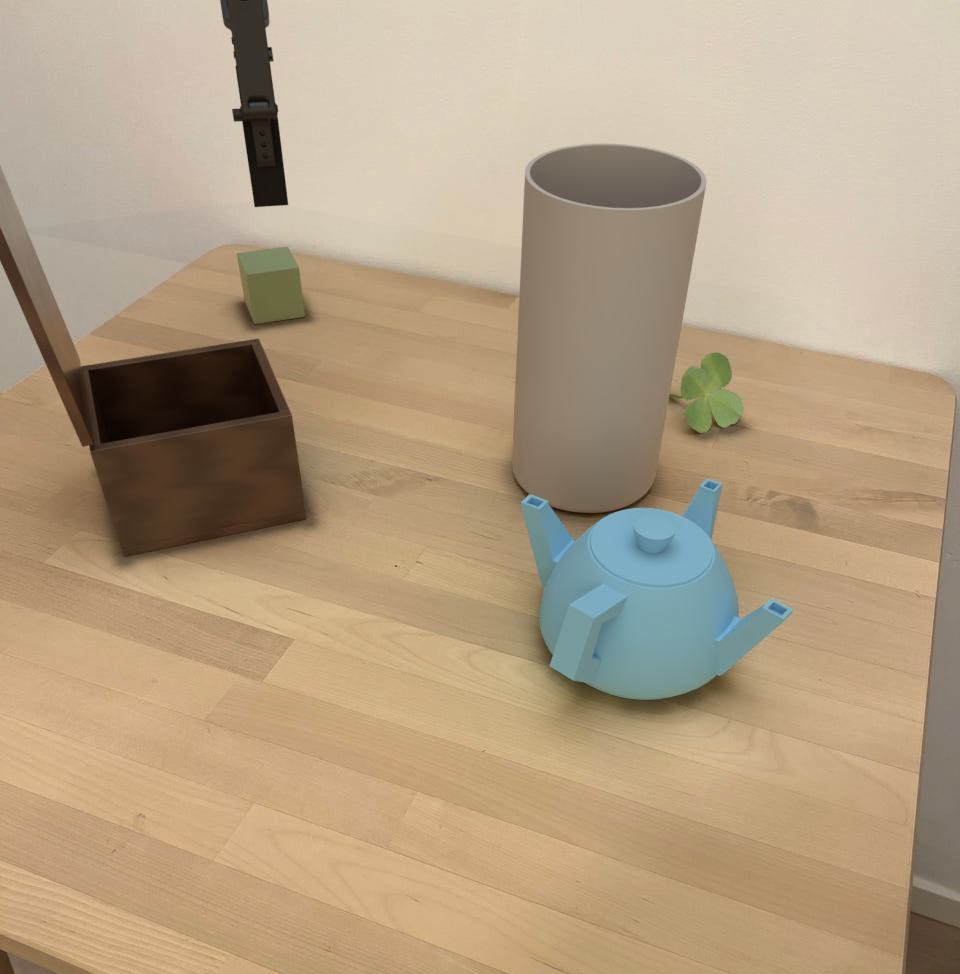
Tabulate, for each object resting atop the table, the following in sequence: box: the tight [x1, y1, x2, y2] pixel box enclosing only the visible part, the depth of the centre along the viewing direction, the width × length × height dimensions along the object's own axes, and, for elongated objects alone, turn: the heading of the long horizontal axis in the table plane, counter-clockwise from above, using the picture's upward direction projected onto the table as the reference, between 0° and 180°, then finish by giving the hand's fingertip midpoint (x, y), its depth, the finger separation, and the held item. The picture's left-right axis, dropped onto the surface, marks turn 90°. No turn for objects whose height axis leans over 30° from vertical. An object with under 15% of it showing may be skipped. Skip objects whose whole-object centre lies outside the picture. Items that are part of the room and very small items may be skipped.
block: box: [236, 246, 306, 325], centre depth 103 cm, size 6×6×6 cm
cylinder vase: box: [511, 143, 708, 514], centre depth 76 cm, size 12×12×25 cm
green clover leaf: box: [669, 352, 745, 434], centre depth 91 cm, size 7×8×7 cm
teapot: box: [520, 477, 794, 701], centre depth 66 cm, size 15×15×11 cm
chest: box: [81, 338, 307, 557], centre depth 78 cm, size 15×13×10 cm
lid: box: [0, 165, 93, 448], centre depth 67 cm, size 16×13×1 cm
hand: (266, 174), depth 83 cm, fingers open, 13 cm apart
